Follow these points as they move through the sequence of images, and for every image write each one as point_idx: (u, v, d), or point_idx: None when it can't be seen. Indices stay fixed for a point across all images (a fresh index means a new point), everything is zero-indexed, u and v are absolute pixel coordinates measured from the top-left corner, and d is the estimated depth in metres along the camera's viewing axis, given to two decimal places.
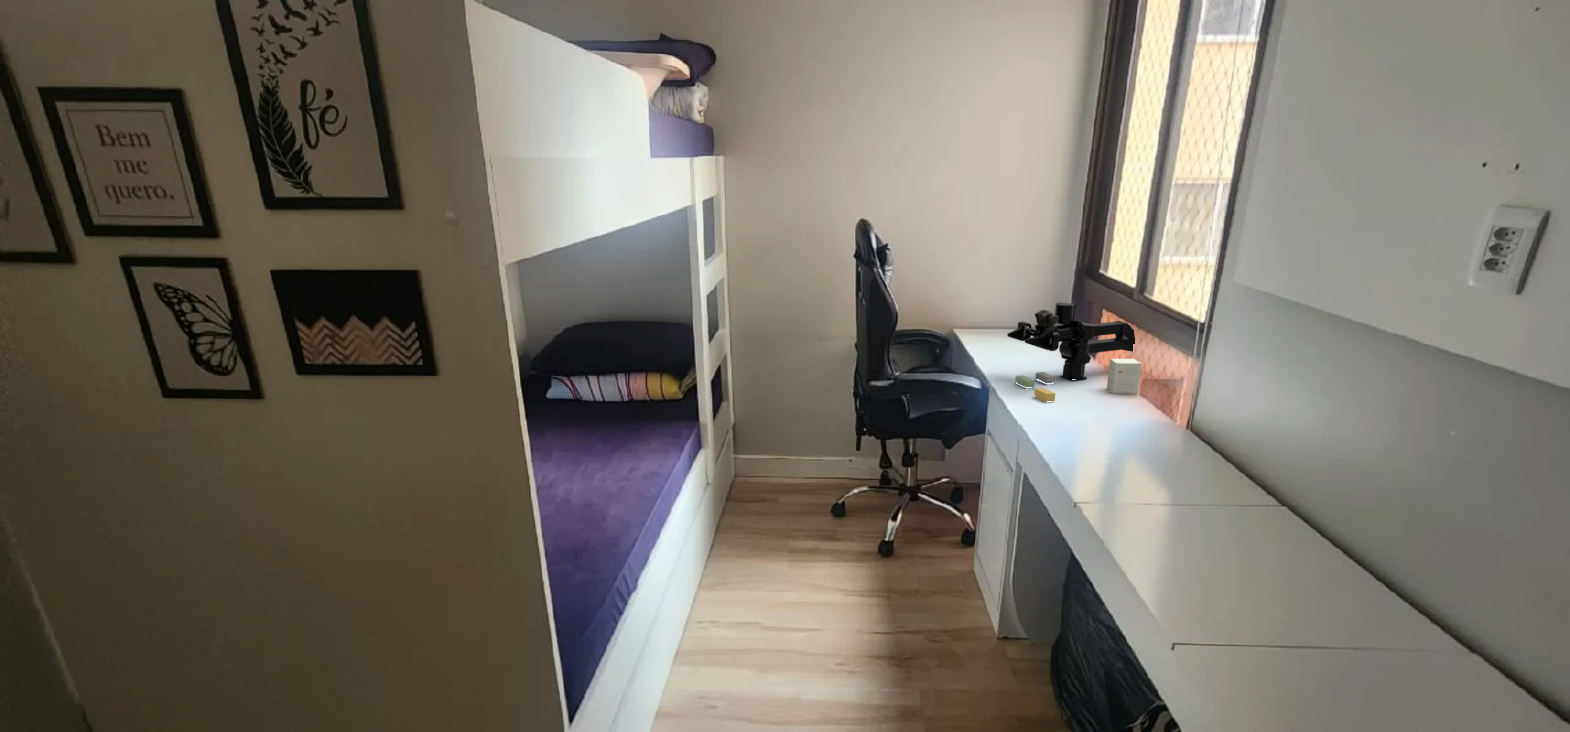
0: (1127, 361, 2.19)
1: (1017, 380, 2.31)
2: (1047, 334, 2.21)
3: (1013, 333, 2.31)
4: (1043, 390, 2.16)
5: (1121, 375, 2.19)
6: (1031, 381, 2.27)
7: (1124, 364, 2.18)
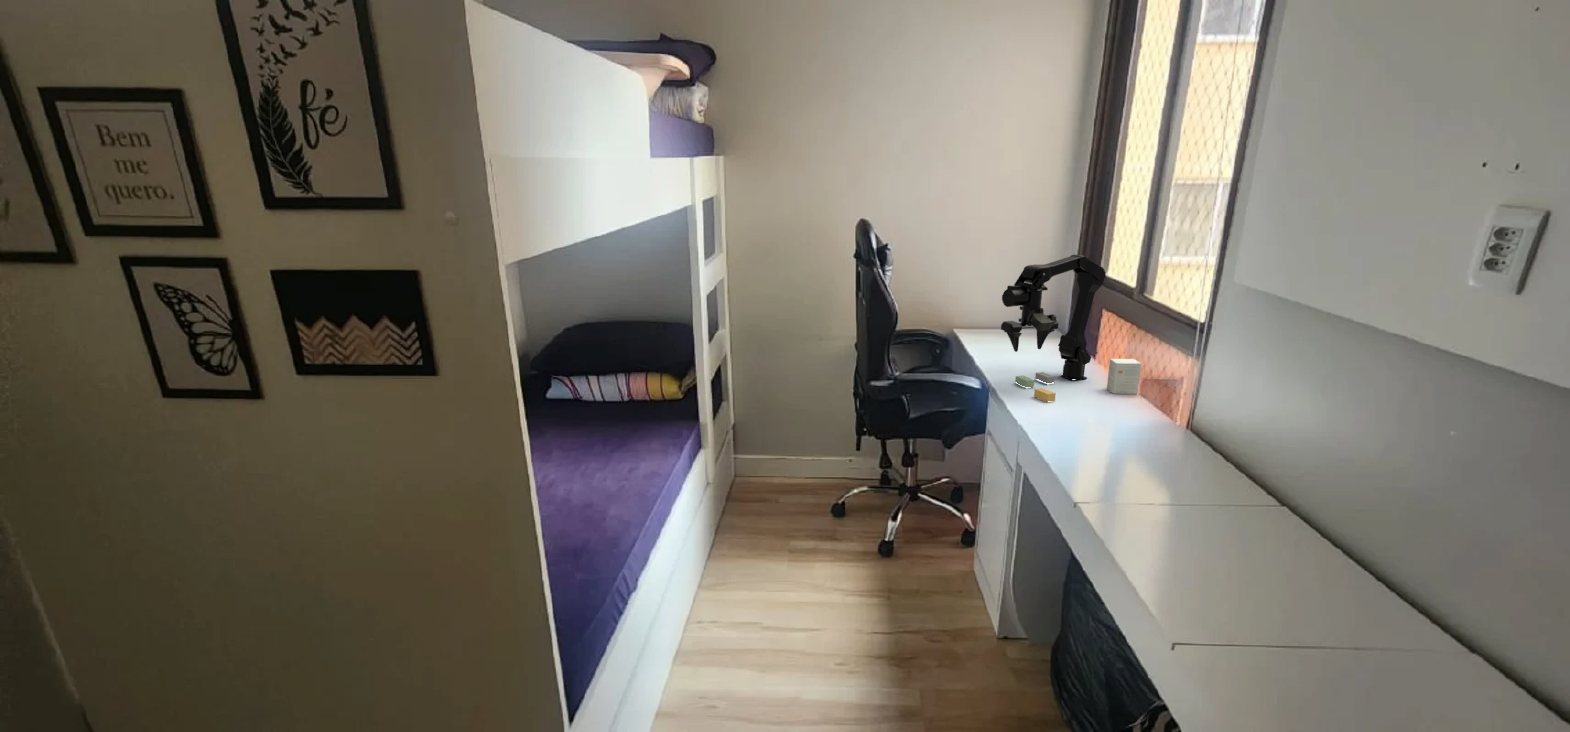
0: (1127, 361, 2.19)
1: (1017, 380, 2.31)
2: None
3: None
4: (1043, 390, 2.16)
5: (1121, 375, 2.19)
6: (1031, 381, 2.27)
7: (1124, 364, 2.18)
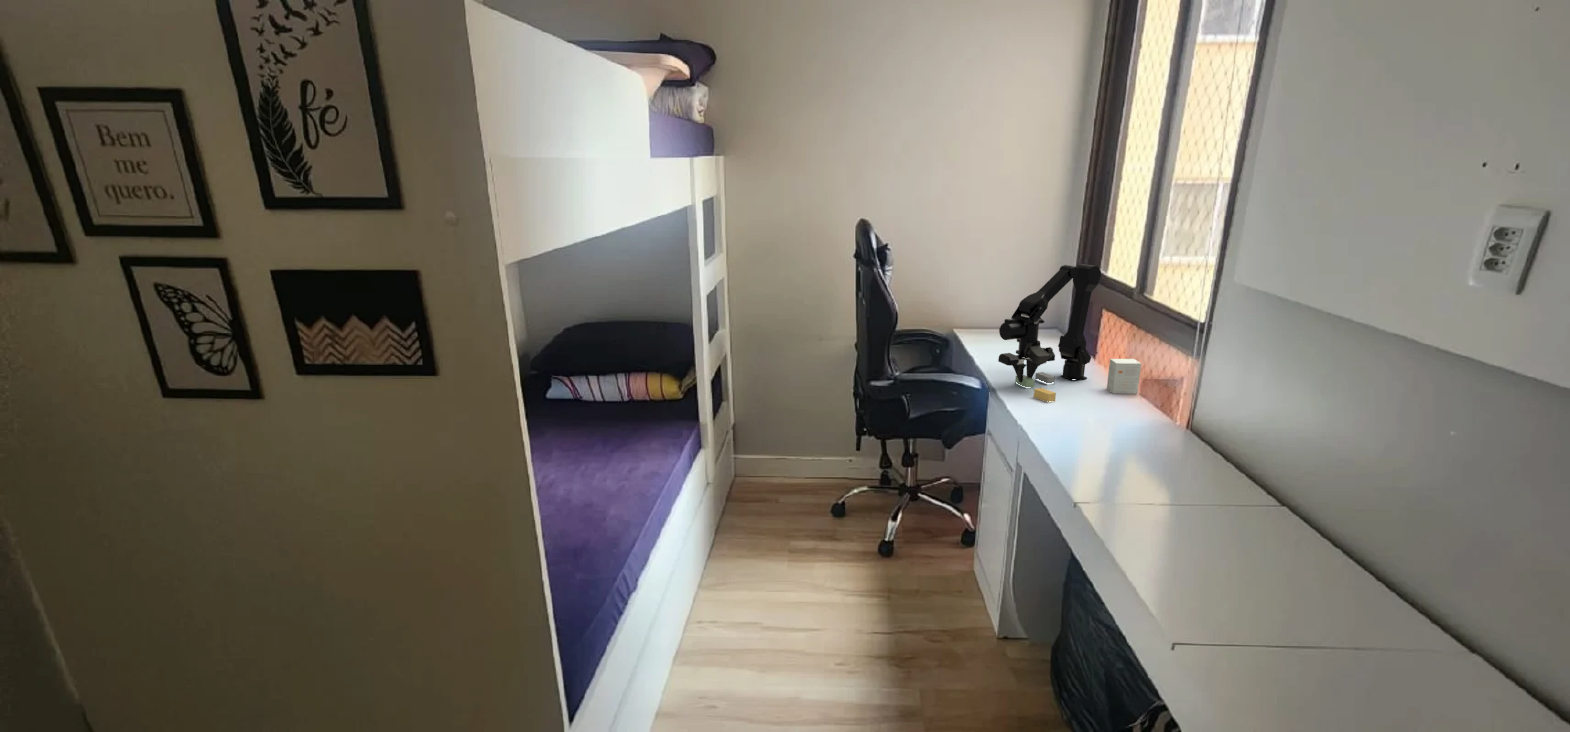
0: (1127, 361, 2.19)
1: (1017, 379, 2.31)
2: None
3: None
4: (1043, 390, 2.16)
5: (1121, 375, 2.19)
6: (1031, 380, 2.27)
7: (1124, 364, 2.18)
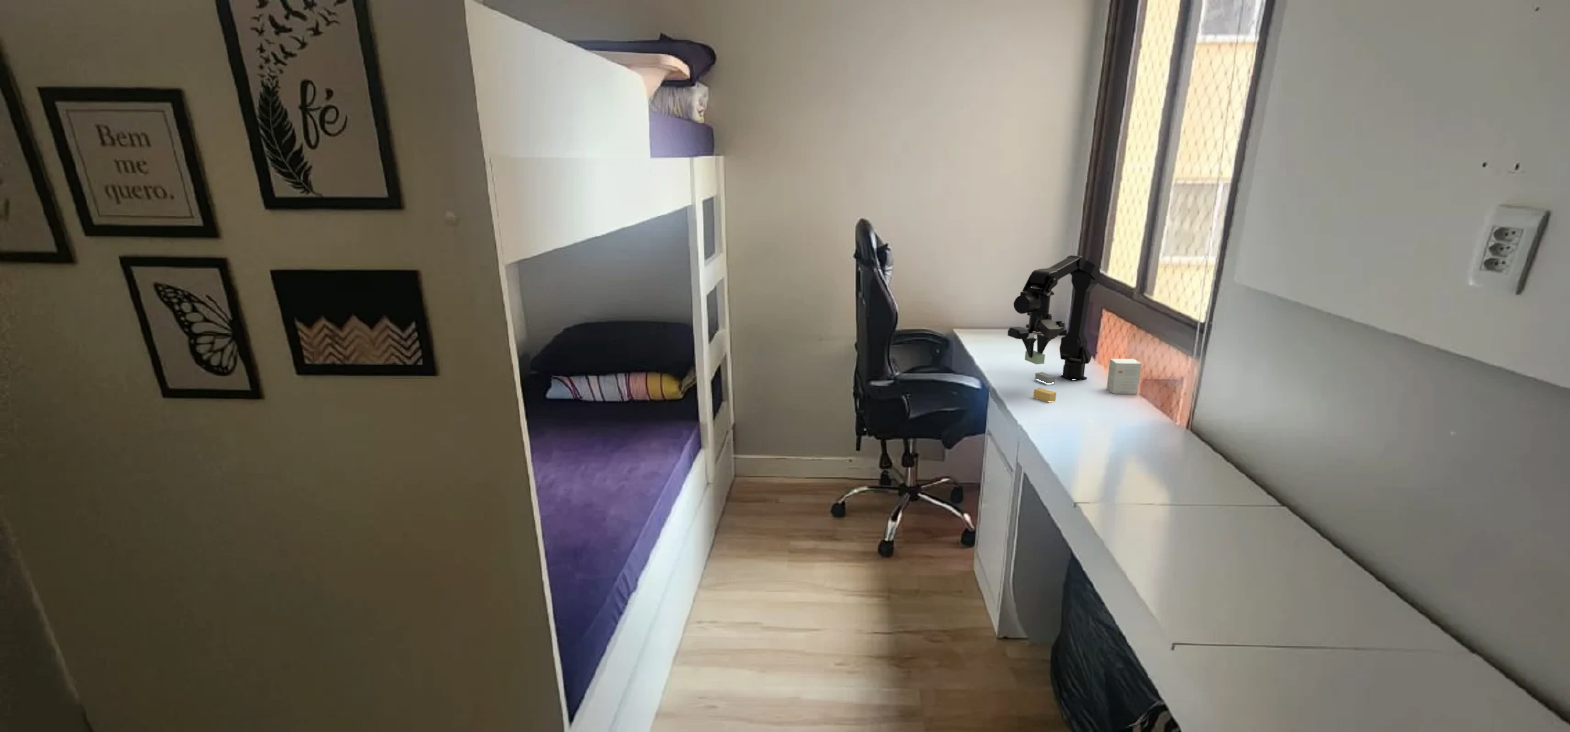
0: (1127, 361, 2.19)
1: (1027, 355, 2.22)
2: None
3: None
4: (1043, 390, 2.16)
5: (1121, 375, 2.19)
6: (1041, 356, 2.18)
7: (1124, 364, 2.18)
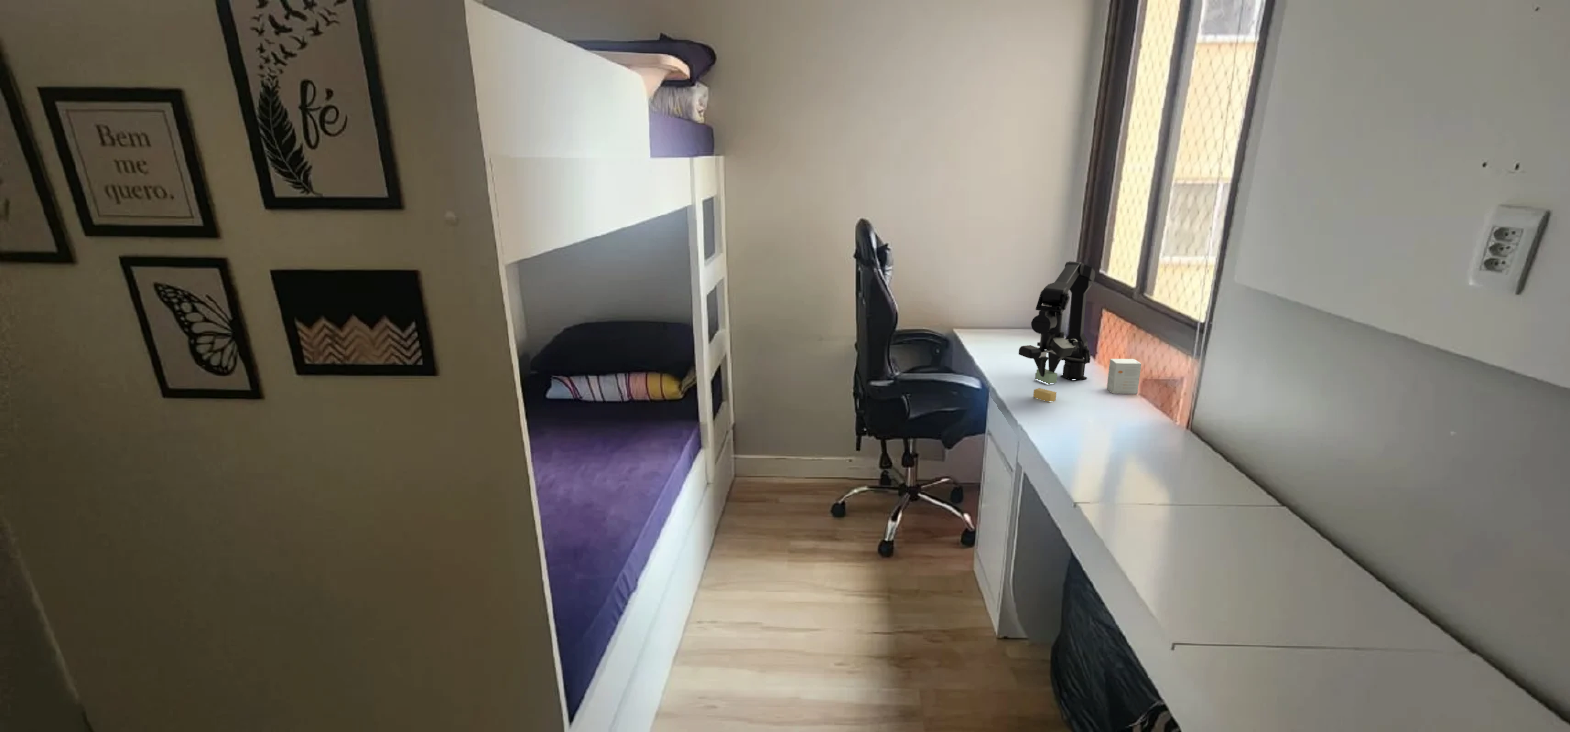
0: (1127, 361, 2.19)
1: (1038, 374, 2.15)
2: None
3: None
4: (1043, 390, 2.16)
5: (1121, 375, 2.19)
6: (1054, 375, 2.11)
7: (1124, 364, 2.18)
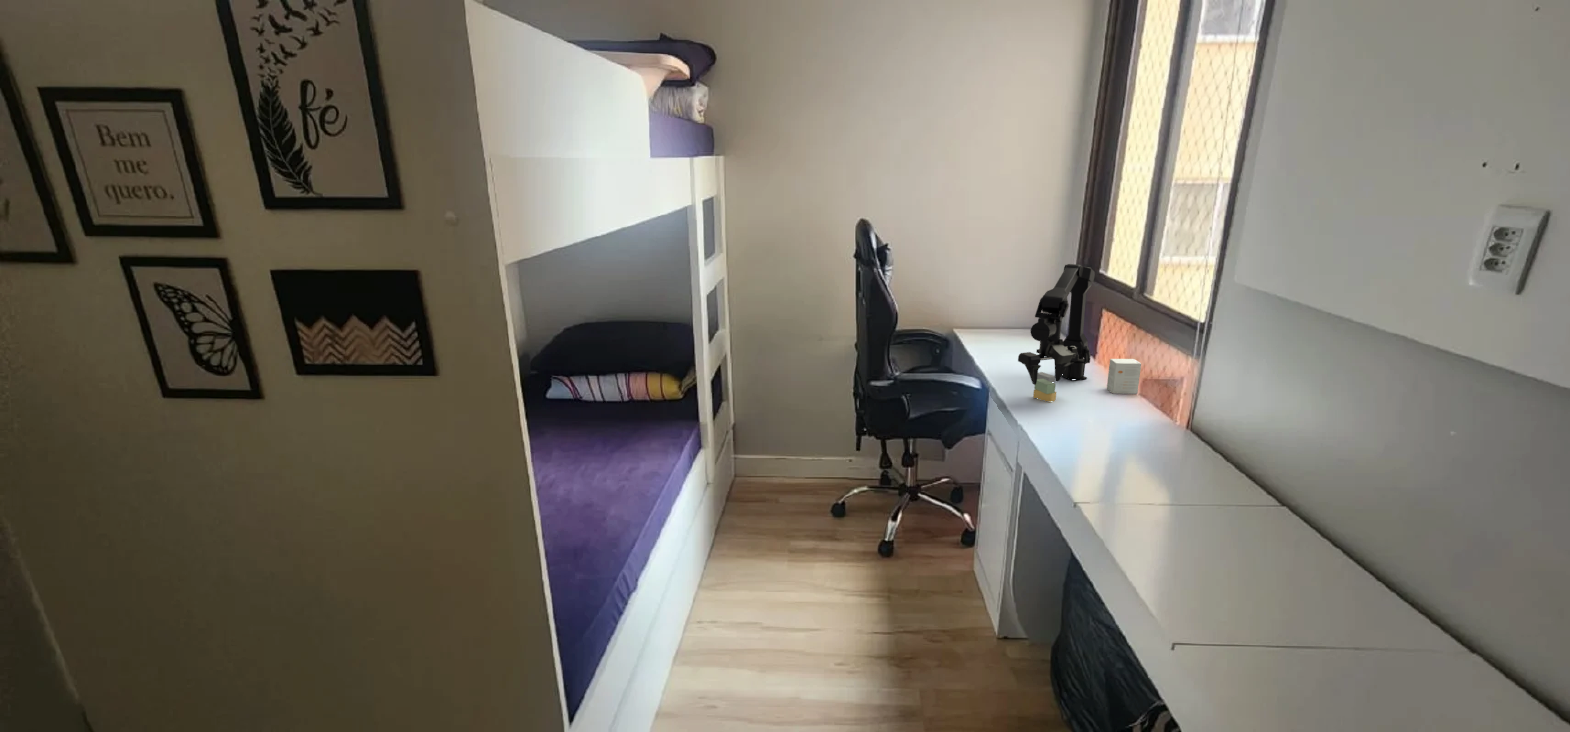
0: (1127, 361, 2.19)
1: (1037, 384, 2.16)
2: None
3: None
4: None
5: (1121, 375, 2.19)
6: (1052, 385, 2.12)
7: (1124, 364, 2.18)
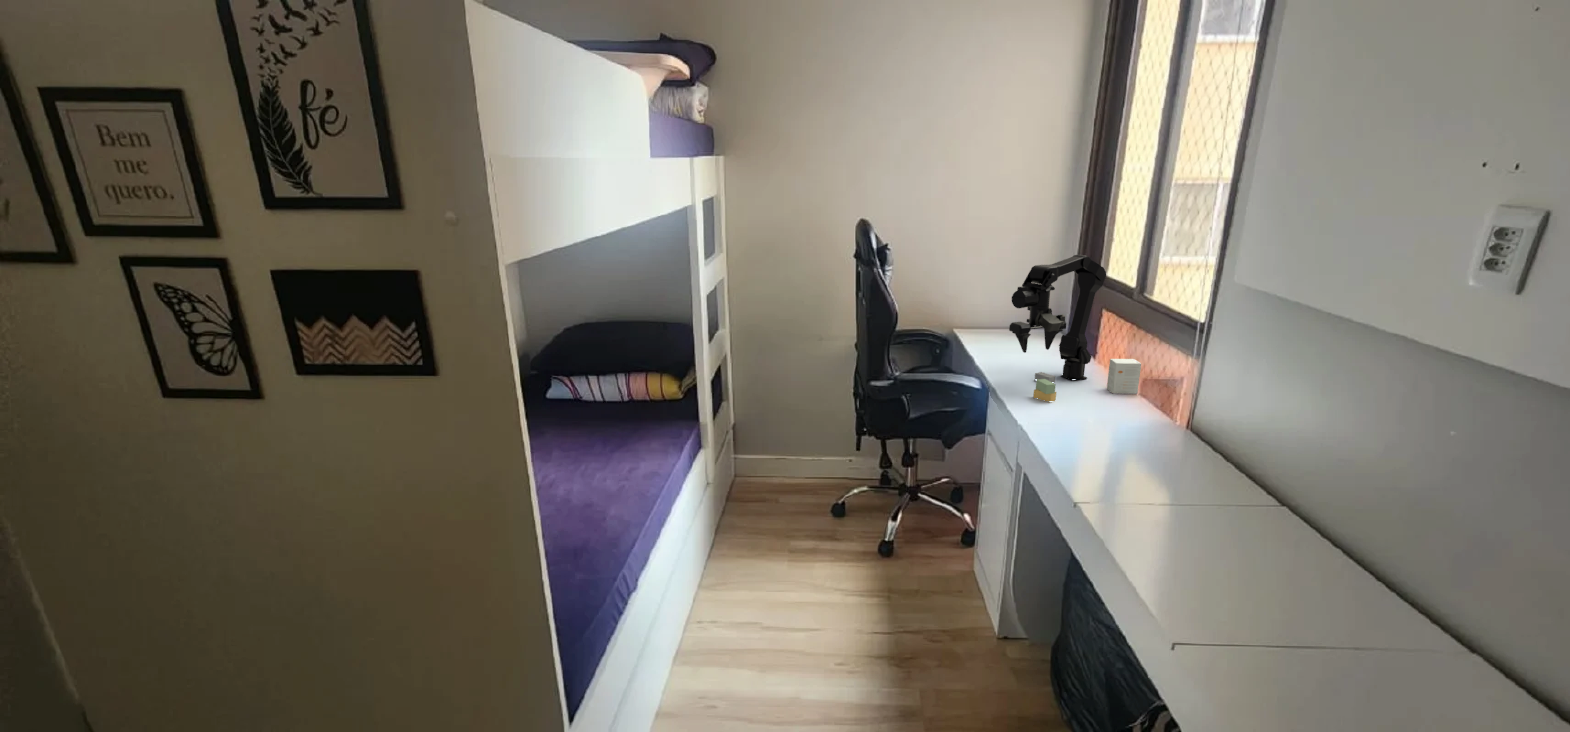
0: (1127, 361, 2.19)
1: (1038, 384, 2.16)
2: None
3: None
4: None
5: (1121, 375, 2.19)
6: (1052, 385, 2.12)
7: (1124, 364, 2.18)
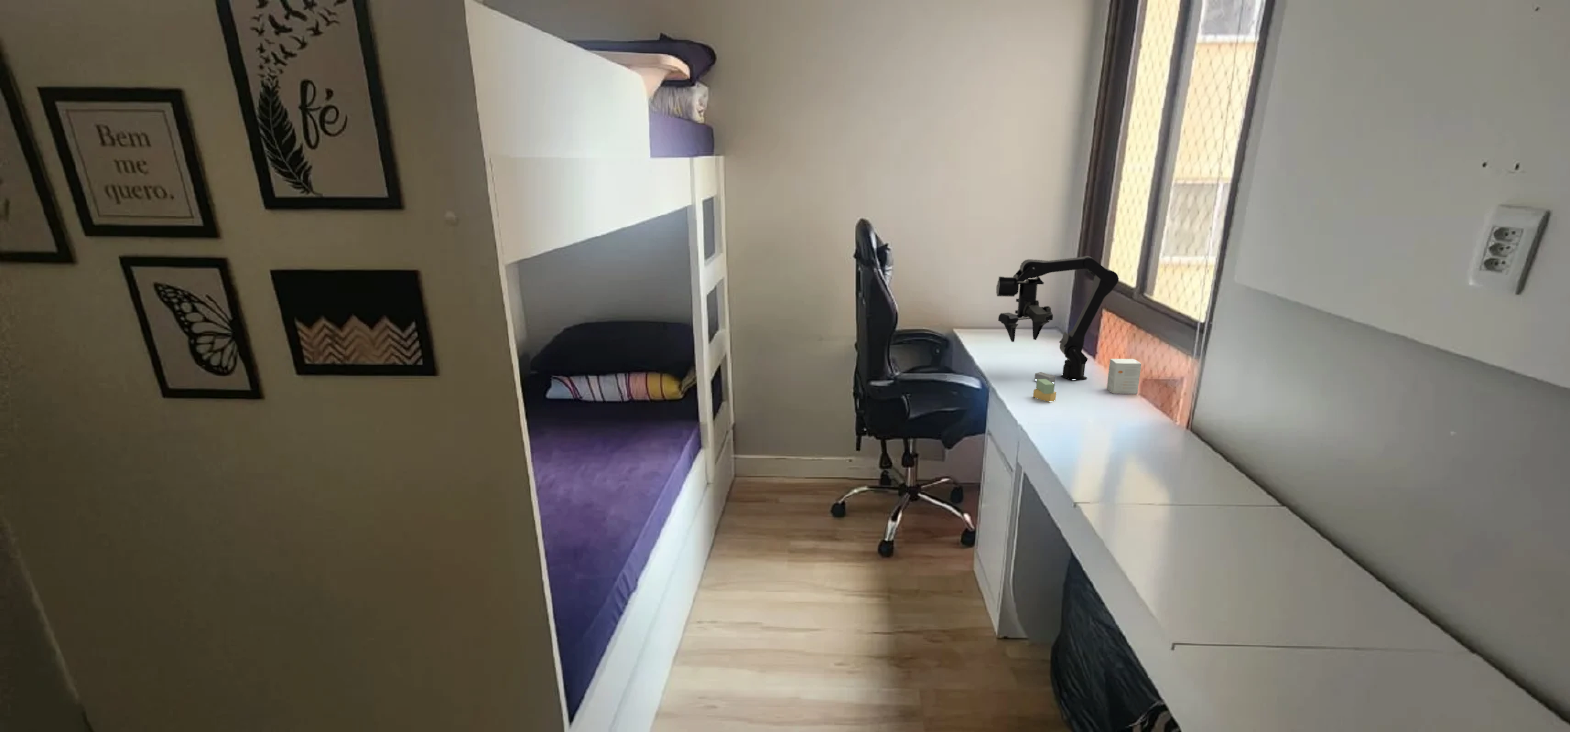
0: (1127, 361, 2.19)
1: (1038, 383, 2.17)
2: None
3: None
4: None
5: (1121, 375, 2.19)
6: (1050, 385, 2.12)
7: (1124, 364, 2.18)
